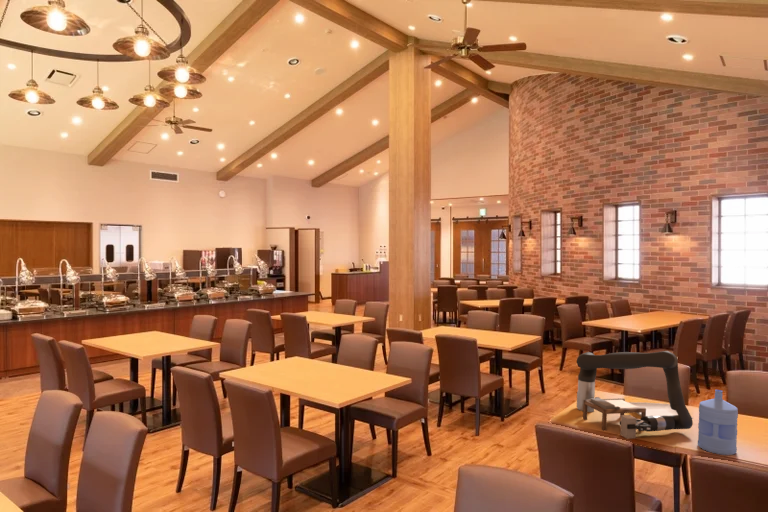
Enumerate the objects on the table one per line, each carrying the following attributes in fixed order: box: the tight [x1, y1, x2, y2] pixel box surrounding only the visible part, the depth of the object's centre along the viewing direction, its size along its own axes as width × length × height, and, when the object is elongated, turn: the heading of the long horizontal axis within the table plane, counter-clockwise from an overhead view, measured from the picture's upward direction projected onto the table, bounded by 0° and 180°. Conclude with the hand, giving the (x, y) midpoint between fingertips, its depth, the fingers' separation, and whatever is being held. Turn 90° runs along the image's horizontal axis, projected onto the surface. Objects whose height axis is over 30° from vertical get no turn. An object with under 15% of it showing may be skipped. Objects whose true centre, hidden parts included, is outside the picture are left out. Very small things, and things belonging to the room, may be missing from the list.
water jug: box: [697, 389, 739, 456], centre depth 248 cm, size 16×16×28 cm
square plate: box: [627, 401, 694, 420], centre depth 299 cm, size 27×27×4 cm
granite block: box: [619, 414, 637, 440], centre depth 262 cm, size 5×5×10 cm
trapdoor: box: [591, 397, 639, 409], centre depth 282 cm, size 20×14×4 cm
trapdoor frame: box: [582, 396, 646, 431], centre depth 282 cm, size 24×19×12 cm
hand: (623, 424), depth 262 cm, fingers closed on granite block, 5 cm apart
